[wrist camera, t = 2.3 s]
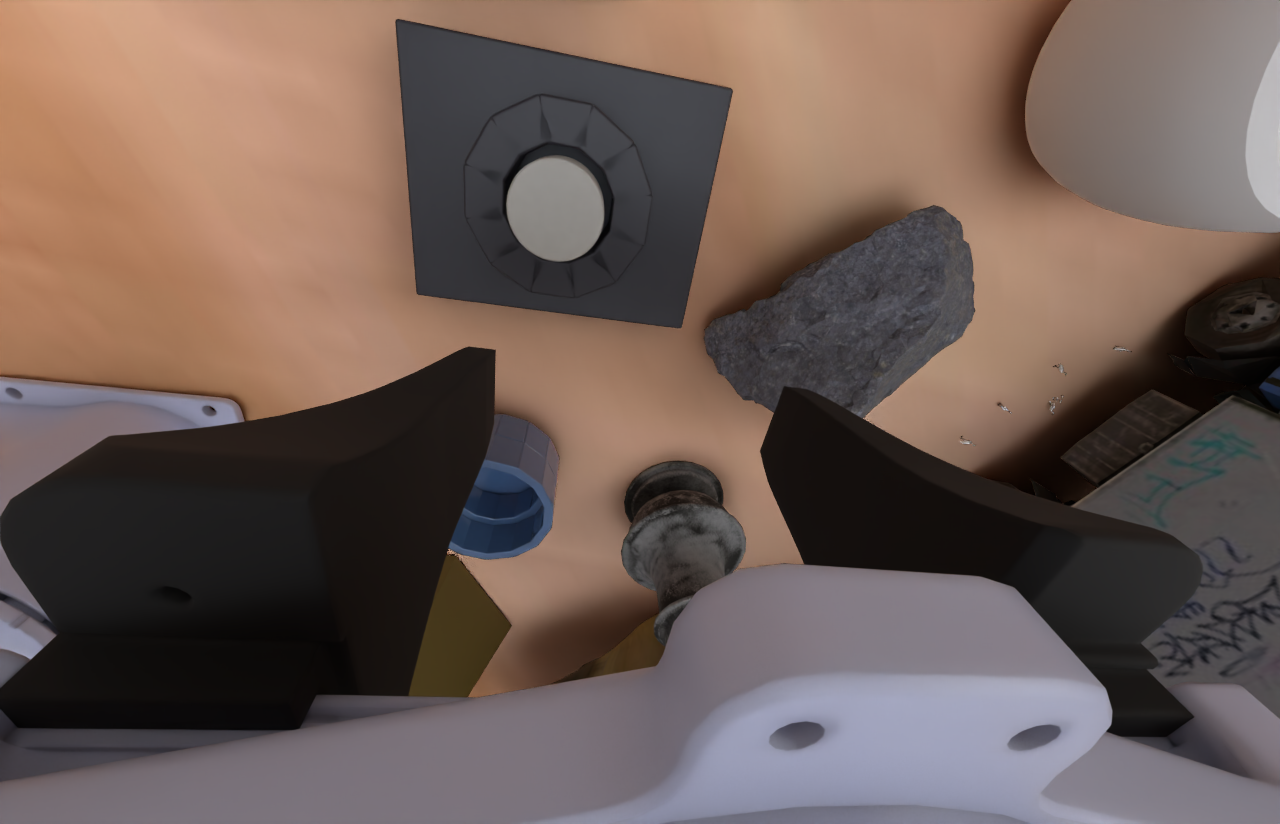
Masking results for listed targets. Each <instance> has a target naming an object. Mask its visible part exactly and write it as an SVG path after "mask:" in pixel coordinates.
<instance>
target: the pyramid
mask: <svg viewBox="0 0 1280 824" xmlns="http://www.w3.org/2000/svg"><path fill="white" fill-rule="evenodd" d="M510 628H511V624H510V623H509V622H508V621H507V619H506V618H505V617H504V616H503V614H502V613H501V612H500V611H499V609H498V608H497V607H496V606H495V604H494V603H493V602H492V601H491V599H490V598H489V597H488V596H487V594H486V593H485V592H484V591H483V589H482V588H481V587H480V586H479V584H478V583H477V582H476V581H475V580H474V578H473V577H472V576H471V575H470V573H469V572H468V571H467V570H466V568H465V567H464V566H463V565H462V563H461V562H460V561H459V560H458V558H457V557H456V556H448V555H446V558H445V561H444V564H443V568H442V571H441V575H440V578H439V581H438V585H437V588H436V592H435V596H434V599H433V603H432V607H431V610H430V614H429V617H428V621H427V625H426V628H425V632H424V636H423V640H422V644H421V648H420V651H419V655H418V659H417V663H416V667H415V671H414V674H413V678H412V682H411V686H410V691H409V695H408V696H417V697H468V695H469V694H470V692H471V690H472V689H473V687H474V686H475V684H476V682H477V681H478V679H479V678H480V676H481V674H482V673H483V671H484V669H485V668H486V666H487V665H488V663H489V661H490V660H491V658H492V657H493V655H494V653H495V652H496V650H497V649H498V647H499V645H500V644H501V642H502V641H503V639H504V637H505V636H506V634H507V633H508V631H509V629H510Z"/></svg>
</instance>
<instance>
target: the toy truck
mask: <svg viewBox="0 0 1280 824" xmlns="http://www.w3.org/2000/svg"><path fill="white" fill-rule="evenodd" d="M1184 335H1185V336H1186V337H1187V339H1188V340H1189V341H1190V342H1191V344H1192V345H1193V346H1194V348H1195V349H1196V350H1197V351H1198V352H1199V353H1201V354H1202V355H1204V356H1206V357H1208V358H1209V359H1207V358H1199V357H1192V356H1187V357H1188V358H1186V359H1185V360H1183V359H1180V358H1178V357H1175V356H1173V355H1171V354H1168V353H1167V354H1168V355H1169V356H1170V357H1171V358H1172V359H1173V361H1174V365H1176V366H1177V367H1179V368H1180V369H1182V370H1184V371H1186V372H1188V373H1190V374H1192V375H1194V374H1195V375H1196V376H1197V377H1203V378H1209V379H1215V380H1221V381H1227V382H1233V383H1239V384H1245V385H1246V386H1245V387H1243V388H1242V389H1240V390H1238V391H1227V392H1222V393H1220V394H1217V395H1215V396H1213V398H1214V399H1215V400H1216V401H1217V402H1218V403H1219V405H1217V406H1216V407H1214V408H1213V409H1211V410H1210V411H1209V412H1207V413H1206V414H1204V415H1202V414H1201V413H1200V412H1199V411H1197V410H1195V409H1193V408H1191V407H1189V406H1186V405H1184V404H1182V403H1180V402H1178V401H1176V400H1174V399H1172V398H1170V397H1167V396H1165V395H1163V394H1161V393H1159V392H1157V391H1155V390H1153V389H1152V390H1150V391H1149V392H1147V393H1145V394H1144V395H1142V396H1141V397H1139V398H1137V399H1136V400H1134V401H1132V402H1131V403H1130V404H1128V405H1127V406H1125V407H1124V408H1123V409H1121V410H1120V411H1119V412H1117V413H1116V414H1115V415H1113V416H1112V417H1111V418H1109V419H1108V420H1107V421H1105V422H1104V423H1103V424H1101V425H1100V426H1099V427H1098V428H1096V429H1095V430H1094V431H1092V432H1091V433H1089V434H1088V435H1087V436H1085V437H1084V438H1083V439H1081V440H1080V441H1078V442H1077V443H1076V444H1075V445H1073V446H1072V447H1071V448H1070V449H1069V450H1068V451H1067V452H1066V453H1065V454H1064V455H1062V456H1061V457H1060V458H1062V459H1063V460H1064V461H1065V462H1066V463H1067V464H1069V465H1070V466H1071V467H1072V468H1073V469H1074V470H1076V471H1077V472H1078V473H1079V474H1080V475H1081V476H1082V477H1084V478H1085V479H1086V480H1088V481H1089V482H1091V483H1092V484H1093V485H1095V486H1096V487H1097V489H1096V490H1094V491H1093V492H1091V493H1090V494H1088V495H1087V496H1085V497H1084V498H1083V499H1081V500H1080V501H1078V502H1074V501H1072V500H1071V501H1069V502H1066V503H1064V504H1063V505H1067V506H1070V507H1073V508H1077V509H1080V510H1084V511H1088V512H1092V513H1096V514H1100V515H1104V516H1108V517H1112V518H1116V519H1120V520H1124V521H1128V522H1132V523H1136V524H1140V525H1144V526H1148V527H1152V528H1155V529H1158V530H1160V531H1163V532H1166V533H1168V534H1170V535H1172V536H1174V537H1175V538H1177V539H1178V540H1179V541H1181V542H1182V543H1183V544H1185V545H1186V546H1187V547H1189V548H1190V549H1191V550H1193V551H1194V552H1195V553H1197V554H1198V555H1199V557H1200V559H1201V562H1202V565H1203V573H1202V578H1201V583H1200V585H1199V586H1198V588H1197V590H1196V591H1195V593H1194V594H1193V596H1192V597H1191V598H1190V599H1189V600H1188V601H1187V602H1186V603H1185V604H1184V605H1183V606H1182V607H1181V608H1180V609H1179V610H1178V611H1177V612H1176V613H1175V614H1174V615H1172V616H1171V617H1170V618H1169V619H1168V620H1167V621H1166V622H1164V623H1163V624H1162V625H1161V626H1160V627H1159V628H1158V629H1156V630H1155V631H1154V632H1153V633H1152V634H1151V635H1150V636H1148V637H1147V638H1146V639H1145V640H1144V641H1143V642H1141V644H1142V645H1143V646H1144V647H1145V648H1147V649H1148V650H1149V651H1150V652H1151V653H1152V654H1153V655H1154V656H1155V657H1156V658H1157V659H1158V664H1159V665H1158V666H1157V667H1155V668H1154V669H1147V670H1148V671H1149V672H1150V673H1151V674H1152V675H1153V676H1154V677H1155V678H1156V679H1157V680H1158V681H1159V682H1160V683H1161V684H1162V685H1163V686H1164V687H1165V688H1167V687H1170V686H1173V685H1176V684H1179V683H1186V682H1197V683H1232V684H1236V685H1240V686H1242V687H1244V688H1245V689H1246V690H1247V691H1248V692H1249V693H1250V694H1252V695H1253V696H1254V697H1255V698H1256V699H1257V700H1258V701H1260V702H1261V703H1262V704H1263V705H1264V706H1265V707H1267V708H1268V709H1269V710H1270V711H1271V712H1272V713H1273V714H1275V715H1276V716H1277V717H1278V718H1279V719H1280V278H1258V279H1253V280H1248V281H1244V282H1239V283H1234V284H1229V285H1225V286H1222V287H1221V288H1219V289H1218V290H1216V291H1215V292H1213V293H1212V294H1210V295H1209V296H1207V297H1206V298H1204V299H1203V300H1201V301H1199V302H1198V303H1196V304H1195V305H1193V306H1192V307H1190V308H1189V309H1188V311H1187V318H1186V325H1185V332H1184ZM1188 359H1189V360H1188ZM1190 369H1191V370H1190ZM1192 372H1193V373H1194V374H1193V373H1192ZM1195 375H1194V376H1195ZM1029 479H1030V478H1029ZM1030 480H1031V481H1032V484H1033V488H1034V491H1035V494H1036V496H1037V497H1040V498H1044V499H1047V500H1050V501H1054V502H1057V503H1060V504H1062V503H1061V502H1060V500H1059V499H1058V500H1057V497H1056V495H1055V494H1054V493H1052V492H1051V491H1049V490H1048V489H1046V488H1044V487H1043V486H1041V485H1040V484H1038V483H1036V482H1035V481H1033V480H1032V479H1030ZM991 481H994V482H997V483H1000V484H1002V485H1005V486H1008V487H1010V488H1013V489H1016V490H1019V489H1017V488H1016V487H1015V486H1013V485H1012V484H1011V483H1007V482H1001V481H995V480H991ZM1019 491H1020V490H1019Z"/></svg>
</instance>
